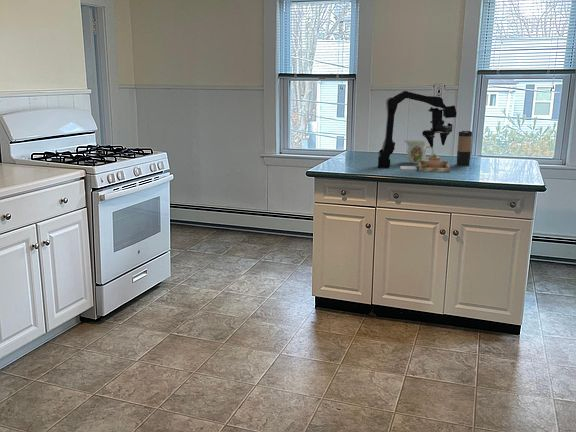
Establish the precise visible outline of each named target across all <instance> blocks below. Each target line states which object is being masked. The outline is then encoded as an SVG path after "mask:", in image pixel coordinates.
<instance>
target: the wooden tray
mask: <svg viewBox="0 0 576 432" xmlns="http://www.w3.org/2000/svg"><path fill="white" fill-rule="evenodd" d="M428 163H429V160H418V164H417V167H418V171H419V172H428V173H429V172H431V173H432V172H433V173H434V172H436V173H437V172H438V173H450V172H451V166H450V165H449V161H448V160H440V163H439V168H428Z"/></svg>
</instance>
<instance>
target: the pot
mask: <svg viewBox="0 0 576 432" xmlns="http://www.w3.org/2000/svg"><path fill="white" fill-rule="evenodd" d="M428 158H429V159H428V161H429V163H428V168H439V163H440V161H441V158H442V157H441V156H440V155H437V154H436V153H433V156H430V155H429V156H428Z"/></svg>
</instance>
